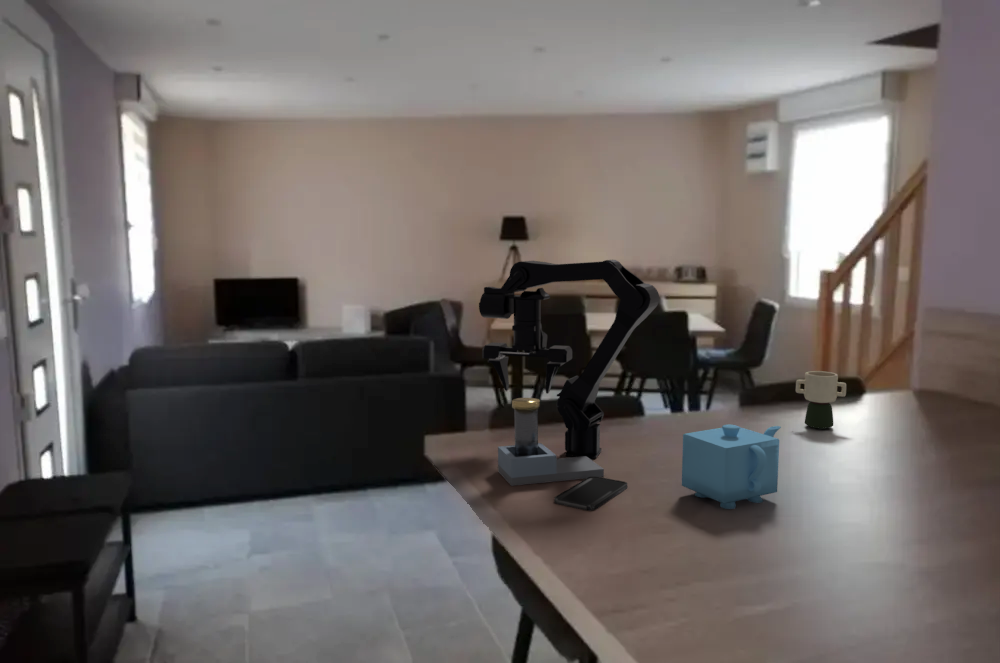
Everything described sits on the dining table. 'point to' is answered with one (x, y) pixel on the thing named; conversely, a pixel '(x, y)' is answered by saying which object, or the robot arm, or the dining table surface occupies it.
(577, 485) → the phone
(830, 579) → the dining table surface
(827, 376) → the trophy cup
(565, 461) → the hitch socket
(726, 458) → the teapot
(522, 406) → the pin
